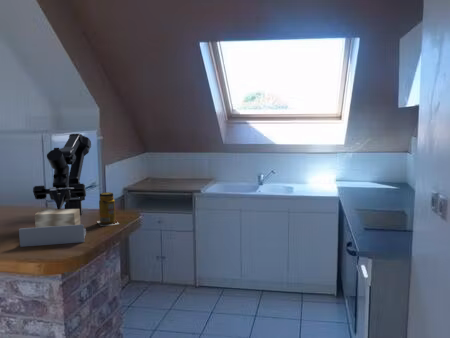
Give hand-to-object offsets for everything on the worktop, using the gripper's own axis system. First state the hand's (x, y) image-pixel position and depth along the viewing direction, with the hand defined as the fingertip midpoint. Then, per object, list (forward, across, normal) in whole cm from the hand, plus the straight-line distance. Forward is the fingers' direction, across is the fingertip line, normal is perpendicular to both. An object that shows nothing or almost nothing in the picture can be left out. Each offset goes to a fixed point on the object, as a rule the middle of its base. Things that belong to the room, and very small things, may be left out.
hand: (58, 209), depth 166 cm
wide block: (+8, 0, -3) cm, 9 cm away
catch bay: (+15, 0, +3) cm, 15 cm away
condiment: (+1, -17, -10) cm, 20 cm away
